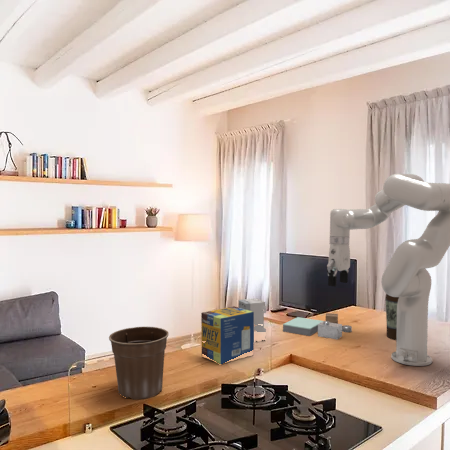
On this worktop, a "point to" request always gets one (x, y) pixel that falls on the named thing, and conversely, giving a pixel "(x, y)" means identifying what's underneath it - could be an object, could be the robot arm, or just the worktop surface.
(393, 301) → the printed label canister
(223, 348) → the protein box
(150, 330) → the plant pot
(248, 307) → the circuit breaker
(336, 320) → the walnut block
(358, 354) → the worktop surface
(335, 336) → the block
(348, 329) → the steel spacer
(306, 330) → the stand
